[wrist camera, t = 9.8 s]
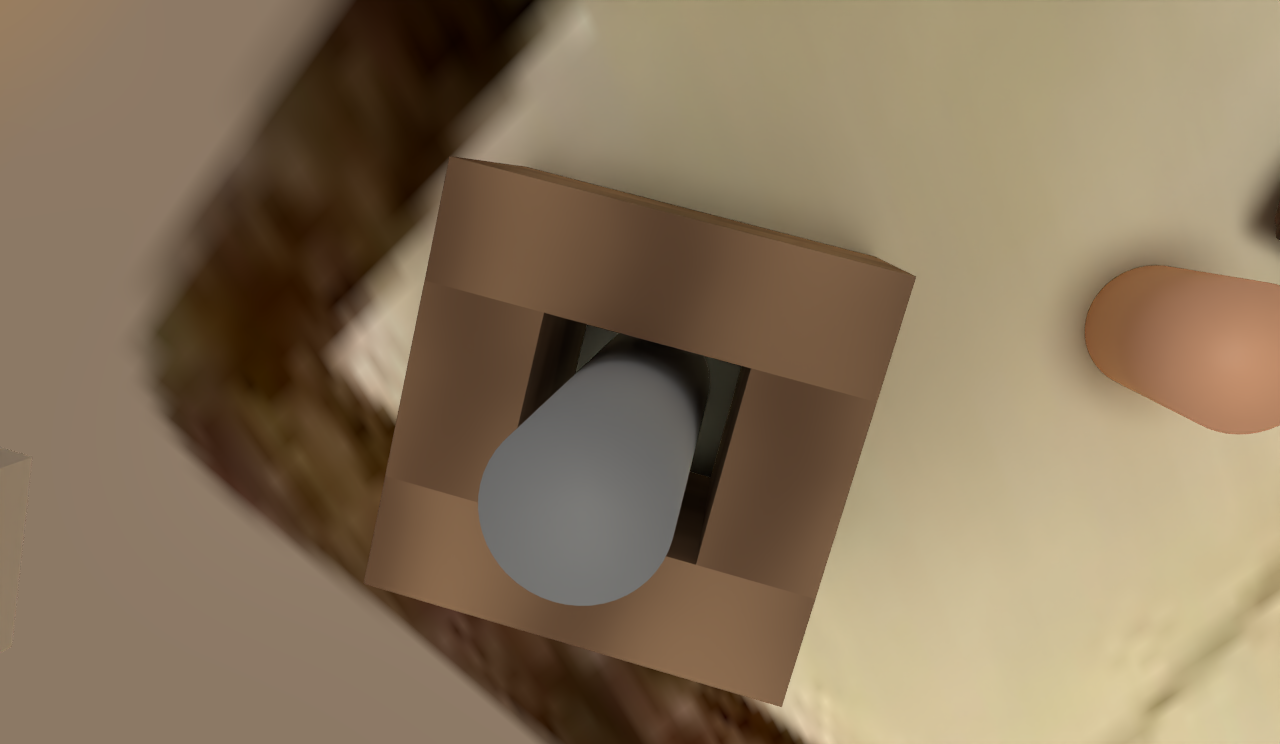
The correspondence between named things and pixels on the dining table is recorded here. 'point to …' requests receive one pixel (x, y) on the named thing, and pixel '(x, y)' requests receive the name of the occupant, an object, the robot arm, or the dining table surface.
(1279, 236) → the bolt
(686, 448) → the long dowel
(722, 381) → the dining table surface
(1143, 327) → the short dowel
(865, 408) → the hole block
